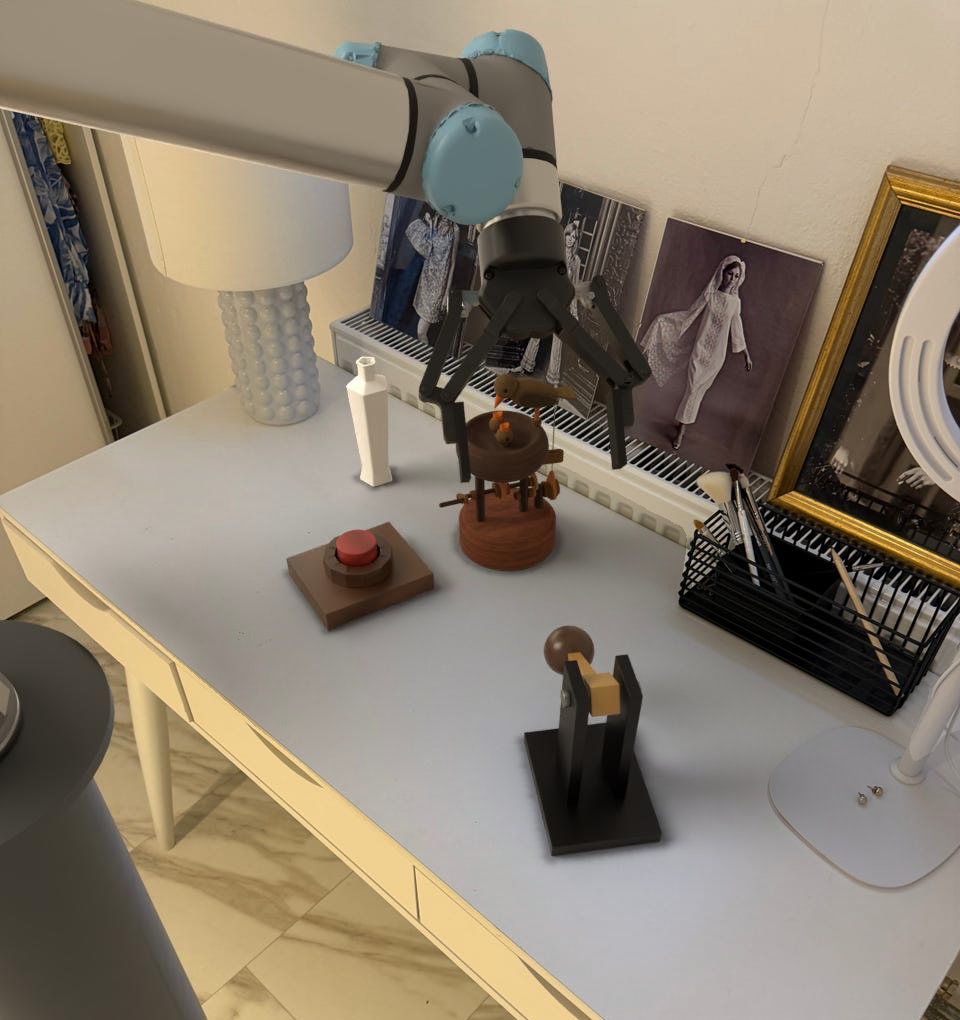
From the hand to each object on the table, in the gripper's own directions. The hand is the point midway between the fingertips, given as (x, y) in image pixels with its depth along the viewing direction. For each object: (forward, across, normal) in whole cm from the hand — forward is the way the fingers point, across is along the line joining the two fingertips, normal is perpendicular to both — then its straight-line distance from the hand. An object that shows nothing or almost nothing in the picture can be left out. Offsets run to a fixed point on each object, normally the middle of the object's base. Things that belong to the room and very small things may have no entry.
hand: (543, 474), depth 84 cm
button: (+4, +17, -15) cm, 24 cm away
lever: (+19, -1, +5) cm, 20 cm away
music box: (+4, +2, -21) cm, 22 cm away
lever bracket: (+27, -1, +3) cm, 27 cm away
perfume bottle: (-6, +15, -32) cm, 35 cm away
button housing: (+7, +17, -18) cm, 26 cm away
